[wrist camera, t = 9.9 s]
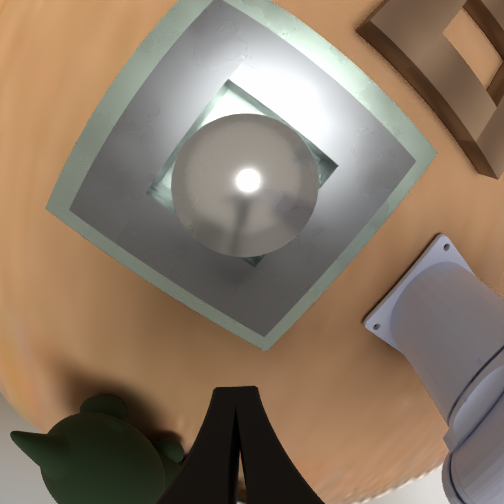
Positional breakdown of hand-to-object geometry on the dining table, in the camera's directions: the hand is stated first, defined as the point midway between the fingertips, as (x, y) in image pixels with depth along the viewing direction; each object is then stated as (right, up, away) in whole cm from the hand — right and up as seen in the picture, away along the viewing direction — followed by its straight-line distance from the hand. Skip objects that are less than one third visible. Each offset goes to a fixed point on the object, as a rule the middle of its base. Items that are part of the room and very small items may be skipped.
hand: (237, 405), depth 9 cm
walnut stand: (+14, +18, +3) cm, 23 cm away
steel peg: (0, +9, +5) cm, 11 cm away
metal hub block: (0, +9, +6) cm, 11 cm away
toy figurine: (-9, -13, +15) cm, 21 cm away
